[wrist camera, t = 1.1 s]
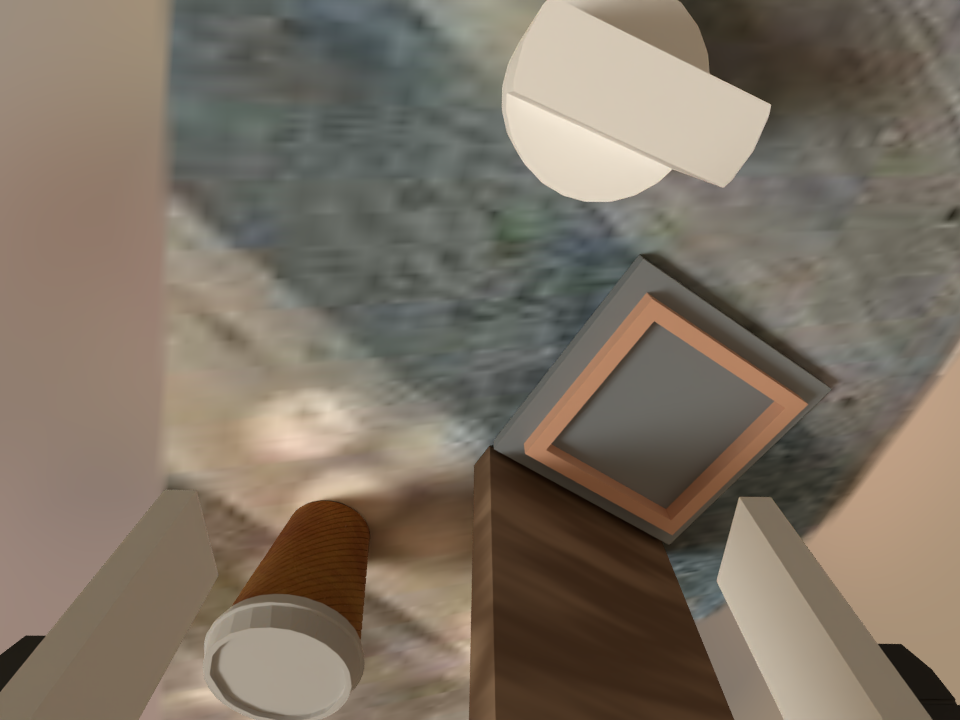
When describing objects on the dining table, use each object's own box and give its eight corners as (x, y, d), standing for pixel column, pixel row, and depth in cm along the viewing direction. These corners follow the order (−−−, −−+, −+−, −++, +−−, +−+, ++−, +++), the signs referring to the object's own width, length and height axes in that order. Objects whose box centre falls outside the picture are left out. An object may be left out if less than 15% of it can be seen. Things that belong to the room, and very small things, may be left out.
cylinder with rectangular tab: (701, 46, 29) (832, 14, 18) (618, 209, 32) (686, 264, 22) (544, -33, 27) (585, -120, 17) (476, 147, 31) (473, 172, 20)
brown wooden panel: (505, 425, 39) (574, 1395, 10) (678, 523, 42) (1101, 1436, 13) (474, 465, 40) (454, 1413, 11) (644, 556, 44) (960, 1445, 15)
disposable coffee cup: (277, 469, 40) (202, 605, 30) (403, 500, 42) (376, 642, 31) (259, 562, 44) (186, 712, 33) (375, 588, 45) (342, 741, 35)
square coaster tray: (639, 254, 33) (649, 264, 31) (823, 382, 37) (842, 398, 35) (493, 440, 39) (494, 459, 37) (665, 535, 43) (674, 556, 41)
